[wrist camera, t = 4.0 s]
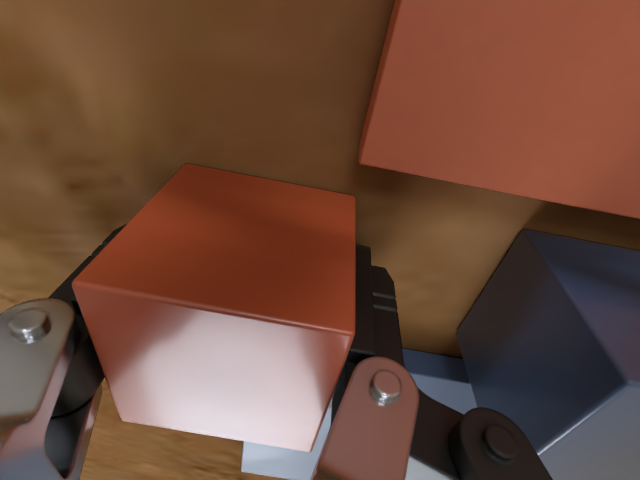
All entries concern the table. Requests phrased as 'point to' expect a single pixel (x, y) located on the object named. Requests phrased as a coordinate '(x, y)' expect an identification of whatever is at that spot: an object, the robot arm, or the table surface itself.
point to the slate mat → (426, 369)
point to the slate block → (562, 353)
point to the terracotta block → (226, 307)
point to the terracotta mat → (513, 98)
